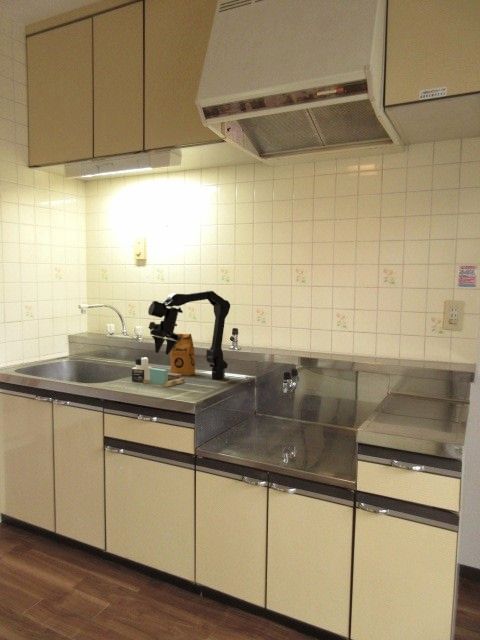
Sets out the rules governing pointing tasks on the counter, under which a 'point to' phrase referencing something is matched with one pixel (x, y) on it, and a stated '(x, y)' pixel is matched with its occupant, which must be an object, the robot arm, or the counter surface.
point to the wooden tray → (166, 384)
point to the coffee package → (183, 356)
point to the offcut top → (174, 376)
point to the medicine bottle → (141, 370)
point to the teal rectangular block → (158, 376)
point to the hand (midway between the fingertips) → (161, 353)
